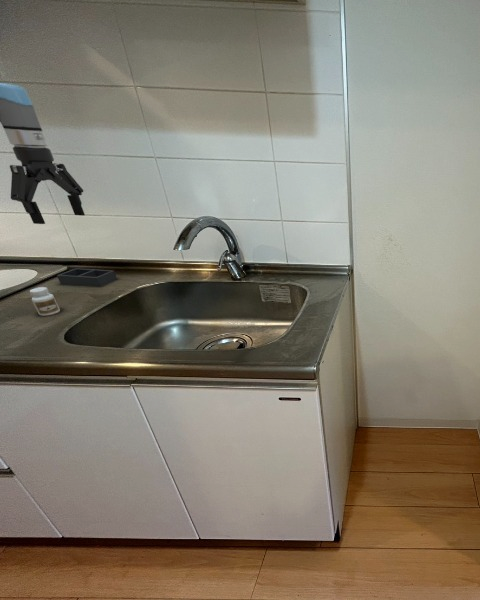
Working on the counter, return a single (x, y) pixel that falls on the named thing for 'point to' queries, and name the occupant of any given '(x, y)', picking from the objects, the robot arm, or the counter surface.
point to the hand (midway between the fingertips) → (61, 219)
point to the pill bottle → (44, 301)
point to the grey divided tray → (87, 277)
